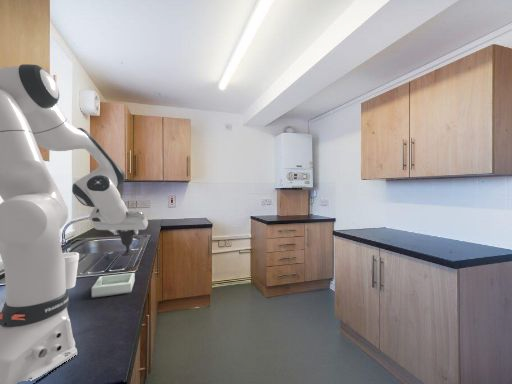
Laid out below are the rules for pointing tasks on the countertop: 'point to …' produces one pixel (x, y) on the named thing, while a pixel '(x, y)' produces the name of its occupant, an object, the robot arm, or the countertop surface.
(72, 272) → the foam cup
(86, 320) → the countertop surface
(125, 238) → the sundae
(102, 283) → the bin
